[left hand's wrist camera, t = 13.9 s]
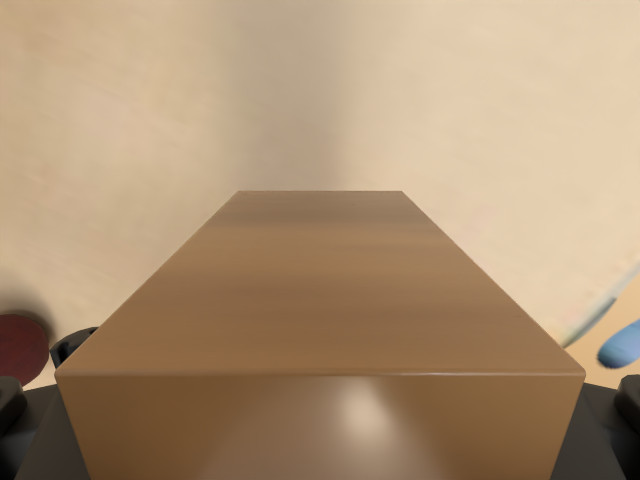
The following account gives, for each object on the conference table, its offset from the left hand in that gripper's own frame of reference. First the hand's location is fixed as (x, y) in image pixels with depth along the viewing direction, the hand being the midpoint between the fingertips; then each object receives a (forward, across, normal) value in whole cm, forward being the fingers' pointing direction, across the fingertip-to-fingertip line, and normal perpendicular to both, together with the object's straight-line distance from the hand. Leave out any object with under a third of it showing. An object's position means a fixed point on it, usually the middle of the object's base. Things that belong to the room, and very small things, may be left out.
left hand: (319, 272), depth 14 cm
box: (+1, 0, -8) cm, 8 cm away
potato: (+16, -29, -15) cm, 37 cm away
